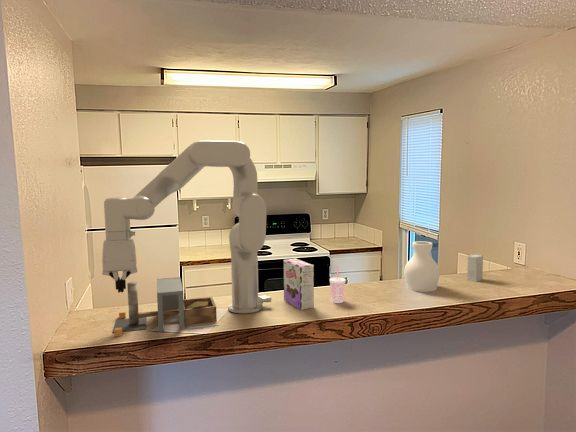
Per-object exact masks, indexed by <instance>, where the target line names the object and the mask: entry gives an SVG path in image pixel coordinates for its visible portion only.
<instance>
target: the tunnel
mask: <svg viewBox="0 0 576 432" xmlns="http://www.w3.org/2000/svg"><path fill="white" fill-rule="evenodd" d="M156 297H157V298H156V302H157V311H158V316H157V321H158V322H157V325H158V326H157V327H158V332H164V315H163V310H174V309H179V314H178V318H179V319H178V320H179V321H178V322H179V324H178V325H179V330H185V325H184V300H183V299H184V289H183V283H182V278H181V277H180V276H179V277H178V276H177V277H168V278H167V277H165V278H157V279H156ZM126 313H127V311H126V310H119V311H118V316H119V317H118V318H119V319H115V322H114V325H113V329H112V332H111V333H112V334H114V337H122V335H123V332H125V333H126V332H132V331H141V330H146V329H147V318H148V317H143V318H139V323H138V324H129V318H126V317H127V315H126ZM217 326H220V324H219V323H215V324H206V325H204V324H203V325H196V326H195V325H194V326H188V327H187V330H191V329H199V328H208V327H217Z"/></svg>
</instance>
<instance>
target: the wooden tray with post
mask: <svg viewBox="0 0 576 432" xmlns="http://www.w3.org/2000/svg"><path fill="white" fill-rule="evenodd" d="M126 288H127V303H128V319H129V324H138V323H139V318H143V317H147V318H151V317H158V310H155V311H146V312H139V298H138V297H139V296H138V295H139V294H138V293H139V292H138V282H136V281H130V282H127V283H126ZM183 300H184V326H186V325H196V324H202V323H203V324H204V323H212V322H217V320H218V319H217V305H216V303H215V301H214V298H213V296H206V297H197V298H188V299H187V298H186V299H184V298H183ZM194 302H208V307H202V308H191V309H186V308H187V307H188V306H189V305H191V304H193V303H194ZM170 315H171V316H172V315H179V309H174V310H163V316H170Z"/></svg>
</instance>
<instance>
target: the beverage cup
mask: <svg viewBox="0 0 576 432" xmlns="http://www.w3.org/2000/svg"><path fill="white" fill-rule="evenodd" d="M329 283H330V285H329V286H330V298H331V301H330V302H331V303H335V304H341V303H343V302H344V298H345V285H346V284H345V283H346V278H344V277H339V266H338V265H337V266H336V277H335V276H334V277H331V278H329Z"/></svg>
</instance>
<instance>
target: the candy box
mask: <svg viewBox="0 0 576 432" xmlns="http://www.w3.org/2000/svg"><path fill="white" fill-rule="evenodd" d="M282 261H283V301H284V302H287V303H288V304H290V305H291V306H292V307H295V308H297V309H298V310H300V311H301V310H308V309H313V308H314V306H315V305H314V302H315V301H314V298H315V297H314V296H315V295H314V293H315V292H314V289H315V288H314V286H315V285H314V283H315V282H314V281H315V278H314V277H315V274H314V273H315V268H314V267H315V266H314V265H315V264H311V263H308V262H306V261H304V260H301V259H298V258H289V259H283V260H282Z"/></svg>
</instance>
